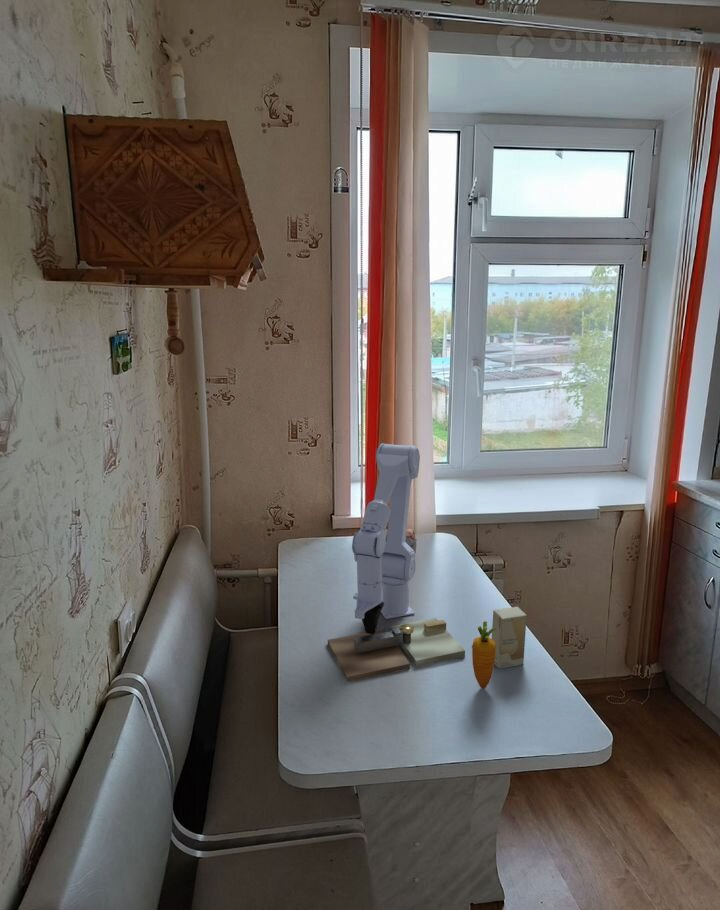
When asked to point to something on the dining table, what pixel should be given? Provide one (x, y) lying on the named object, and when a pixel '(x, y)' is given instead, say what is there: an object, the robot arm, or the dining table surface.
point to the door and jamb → (397, 651)
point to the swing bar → (382, 639)
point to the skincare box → (509, 636)
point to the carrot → (483, 656)
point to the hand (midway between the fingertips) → (370, 632)
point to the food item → (407, 539)
